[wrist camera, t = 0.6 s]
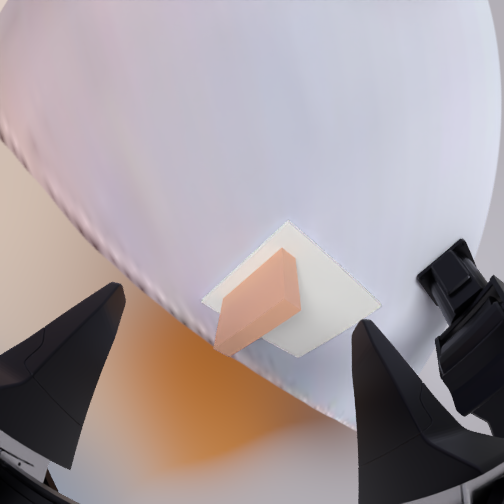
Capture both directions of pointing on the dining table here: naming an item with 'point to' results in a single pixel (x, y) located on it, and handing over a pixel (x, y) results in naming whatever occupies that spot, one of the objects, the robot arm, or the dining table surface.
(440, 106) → the dining table surface
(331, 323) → the mat
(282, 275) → the tile
